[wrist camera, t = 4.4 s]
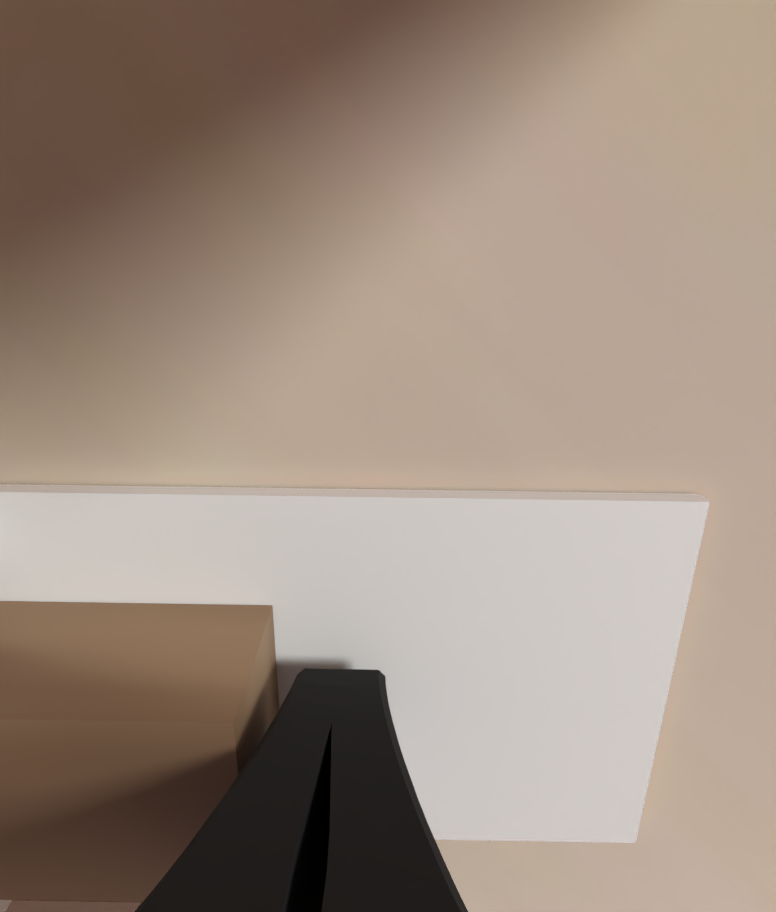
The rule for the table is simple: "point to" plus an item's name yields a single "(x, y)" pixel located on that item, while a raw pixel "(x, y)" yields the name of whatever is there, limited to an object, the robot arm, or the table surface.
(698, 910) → the table surface
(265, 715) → the batten
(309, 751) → the robot arm
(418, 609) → the white base with panel
